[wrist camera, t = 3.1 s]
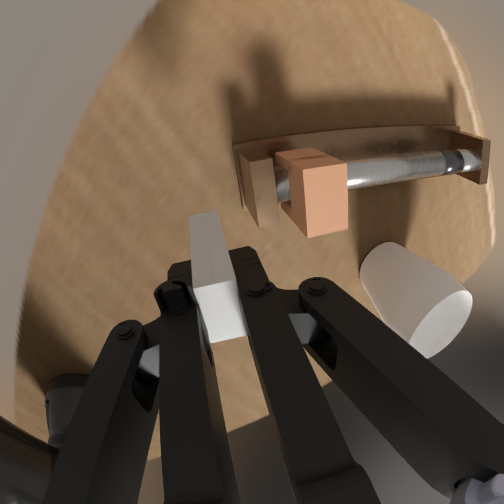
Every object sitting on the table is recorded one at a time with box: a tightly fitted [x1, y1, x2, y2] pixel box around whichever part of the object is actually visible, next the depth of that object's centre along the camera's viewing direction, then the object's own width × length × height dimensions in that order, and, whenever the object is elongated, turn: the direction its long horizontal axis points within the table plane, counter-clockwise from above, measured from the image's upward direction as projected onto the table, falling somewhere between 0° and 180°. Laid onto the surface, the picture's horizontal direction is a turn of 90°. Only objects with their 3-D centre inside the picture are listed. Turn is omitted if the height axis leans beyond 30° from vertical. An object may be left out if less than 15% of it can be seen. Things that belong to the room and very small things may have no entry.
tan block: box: [275, 147, 348, 238], centre depth 21 cm, size 3×5×6 cm, turn 8°
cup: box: [360, 242, 472, 358], centre depth 29 cm, size 9×9×12 cm
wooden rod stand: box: [232, 125, 490, 228], centre depth 25 cm, size 27×6×6 cm, turn 98°
